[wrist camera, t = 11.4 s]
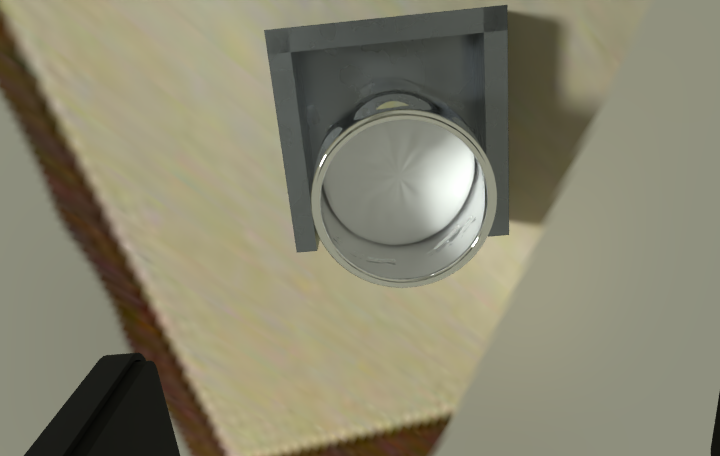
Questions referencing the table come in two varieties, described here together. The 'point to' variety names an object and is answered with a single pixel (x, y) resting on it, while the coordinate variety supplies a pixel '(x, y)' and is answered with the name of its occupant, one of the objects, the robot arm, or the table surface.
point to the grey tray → (381, 61)
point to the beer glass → (401, 187)
